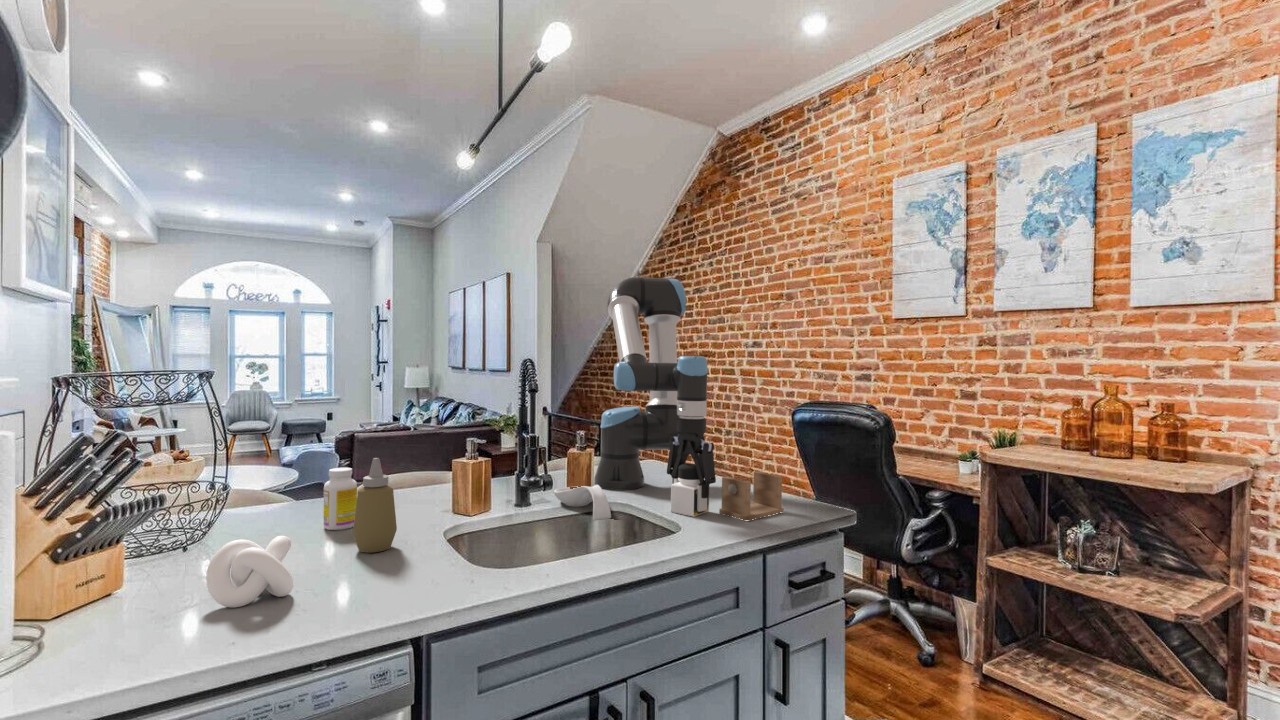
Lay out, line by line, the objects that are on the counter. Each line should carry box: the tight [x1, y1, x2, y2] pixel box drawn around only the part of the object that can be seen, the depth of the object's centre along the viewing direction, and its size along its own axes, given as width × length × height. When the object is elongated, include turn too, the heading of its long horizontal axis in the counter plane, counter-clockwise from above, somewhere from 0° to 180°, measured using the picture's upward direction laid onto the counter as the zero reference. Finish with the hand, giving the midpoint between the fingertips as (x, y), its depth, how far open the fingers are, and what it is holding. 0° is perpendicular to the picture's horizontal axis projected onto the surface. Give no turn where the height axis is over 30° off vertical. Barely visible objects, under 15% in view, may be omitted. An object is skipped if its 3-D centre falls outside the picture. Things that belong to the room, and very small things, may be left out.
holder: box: [718, 471, 785, 521], centre depth 150 cm, size 9×15×9 cm, turn 129°
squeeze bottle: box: [352, 457, 398, 553], centre depth 118 cm, size 8×8×18 cm
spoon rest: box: [553, 485, 612, 521], centre depth 152 cm, size 24×12×7 cm, turn 28°
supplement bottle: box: [323, 467, 358, 531], centre depth 133 cm, size 7×7×13 cm
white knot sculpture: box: [205, 535, 294, 609], centre depth 95 cm, size 11×12×9 cm
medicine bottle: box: [670, 463, 710, 518], centre depth 151 cm, size 7×7×12 cm
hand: (689, 506), depth 151 cm, fingers closed on medicine bottle, 8 cm apart
